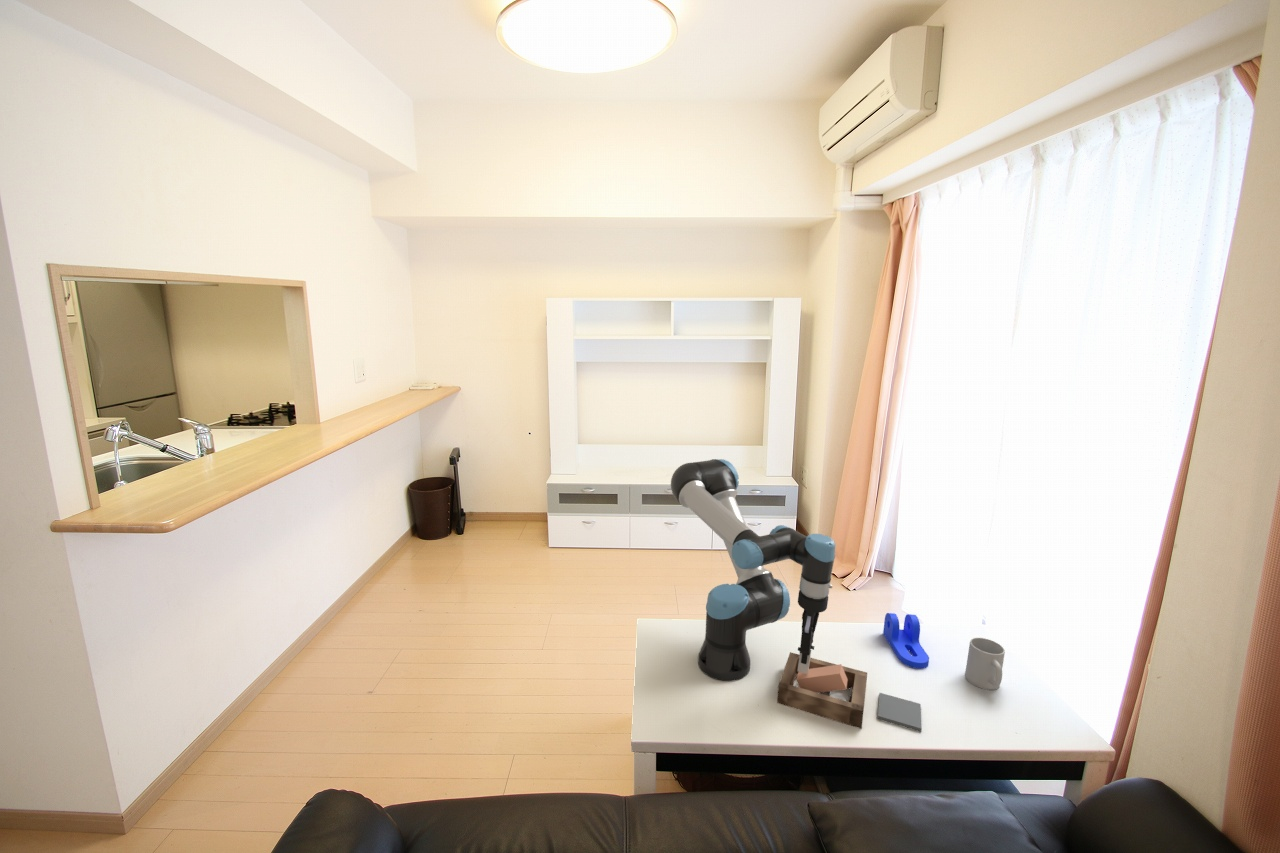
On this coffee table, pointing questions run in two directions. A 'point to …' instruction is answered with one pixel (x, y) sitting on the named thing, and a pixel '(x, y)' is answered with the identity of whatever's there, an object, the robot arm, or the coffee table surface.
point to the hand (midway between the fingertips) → (802, 671)
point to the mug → (984, 663)
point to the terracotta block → (823, 679)
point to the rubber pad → (899, 712)
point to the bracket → (906, 640)
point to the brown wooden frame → (824, 694)
